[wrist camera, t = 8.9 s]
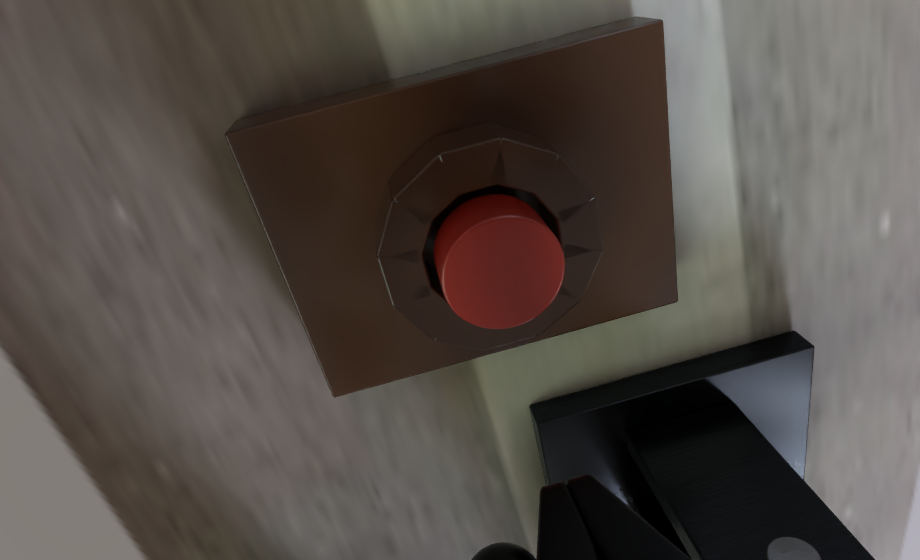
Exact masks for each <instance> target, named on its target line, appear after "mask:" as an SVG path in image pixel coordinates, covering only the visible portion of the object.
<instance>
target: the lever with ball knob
mask: <svg viewBox="0 0 920 560" xmlns="http://www.w3.org/2000/svg"><path fill="white" fill-rule="evenodd" d="M472 560H536V558H535V557H534V556H533V555H532V554H531V553H530V552H529V551H527V550H526V549H524V548H523V547H521V546H518V545H516V544H512V543H504V542H502V543H495V544H491V545H489V546H487V547H485V548H483V549H482V550H480V551H479V552H478V553H477V554H476V555H475V556H474V557H473V559H472Z"/></svg>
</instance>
